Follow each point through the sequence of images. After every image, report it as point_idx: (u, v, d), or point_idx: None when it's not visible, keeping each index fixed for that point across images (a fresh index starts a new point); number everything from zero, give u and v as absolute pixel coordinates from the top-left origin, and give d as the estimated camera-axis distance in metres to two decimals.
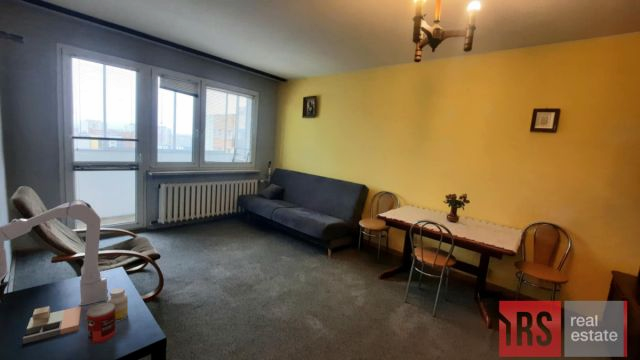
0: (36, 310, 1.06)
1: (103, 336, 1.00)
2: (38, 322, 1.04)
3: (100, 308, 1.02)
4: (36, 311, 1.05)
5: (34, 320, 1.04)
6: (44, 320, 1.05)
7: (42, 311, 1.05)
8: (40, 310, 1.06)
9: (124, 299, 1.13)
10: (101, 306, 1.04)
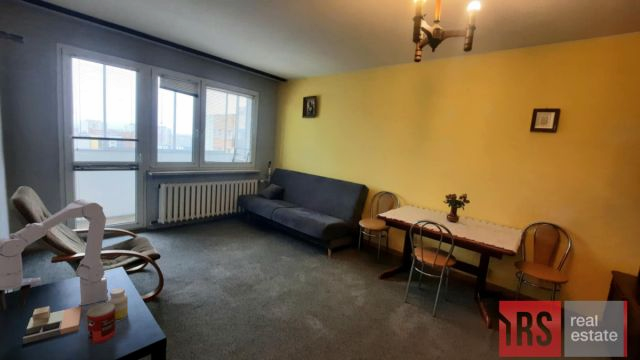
0: (36, 310, 1.06)
1: (103, 336, 1.00)
2: (38, 322, 1.04)
3: (100, 308, 1.02)
4: (36, 311, 1.05)
5: (34, 320, 1.04)
6: (44, 320, 1.05)
7: (42, 311, 1.05)
8: (40, 310, 1.06)
9: (124, 299, 1.13)
10: (101, 306, 1.04)
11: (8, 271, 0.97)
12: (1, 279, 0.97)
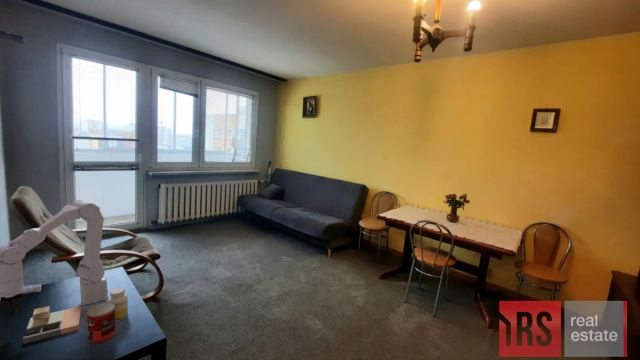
0: (36, 310, 1.06)
1: (103, 336, 1.00)
2: (38, 322, 1.04)
3: (100, 308, 1.02)
4: (36, 311, 1.05)
5: (34, 320, 1.04)
6: (44, 320, 1.05)
7: (42, 311, 1.05)
8: (40, 310, 1.06)
9: (124, 299, 1.13)
10: (101, 306, 1.04)
11: (9, 278, 0.97)
12: (2, 286, 0.97)
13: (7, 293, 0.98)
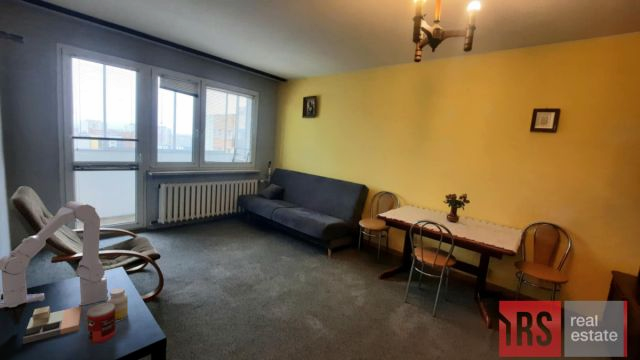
0: (36, 310, 1.06)
1: (103, 336, 1.00)
2: (38, 322, 1.04)
3: (100, 308, 1.02)
4: (36, 311, 1.05)
5: (34, 320, 1.04)
6: (44, 320, 1.05)
7: (42, 311, 1.05)
8: (40, 310, 1.06)
9: (124, 299, 1.13)
10: (101, 306, 1.04)
11: (12, 288, 0.98)
12: (5, 296, 0.98)
13: (11, 303, 0.99)
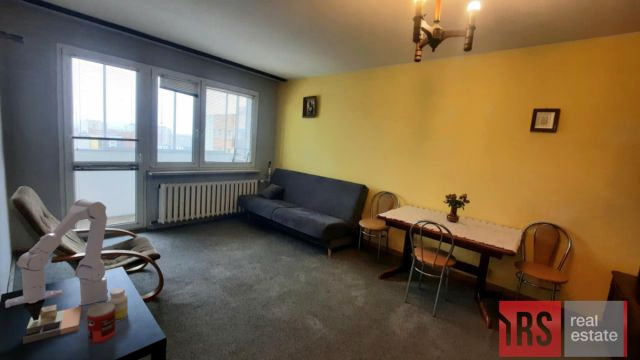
0: (43, 308, 1.07)
1: (103, 336, 1.00)
2: (45, 320, 1.06)
3: (100, 308, 1.02)
4: (43, 310, 1.06)
5: (41, 318, 1.05)
6: (51, 318, 1.06)
7: (49, 309, 1.06)
8: (47, 308, 1.07)
9: (124, 299, 1.13)
10: (101, 306, 1.04)
11: (34, 284, 1.01)
12: (25, 292, 1.01)
13: (31, 299, 1.02)
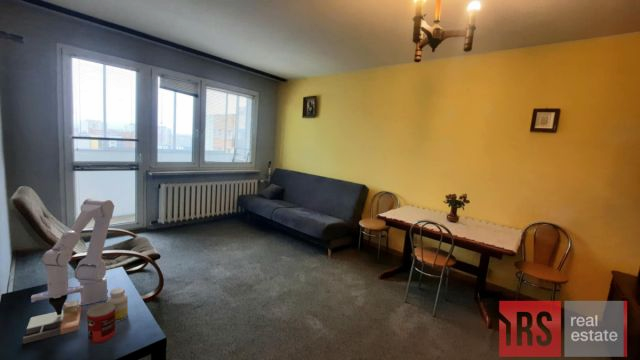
0: (66, 303, 1.10)
1: (103, 336, 1.00)
2: (68, 315, 1.09)
3: (100, 308, 1.02)
4: (65, 305, 1.10)
5: (64, 313, 1.08)
6: (73, 313, 1.10)
7: (72, 305, 1.10)
8: (69, 303, 1.11)
9: (124, 299, 1.13)
10: (101, 306, 1.04)
11: (61, 279, 1.06)
12: (50, 287, 1.05)
13: (55, 294, 1.05)
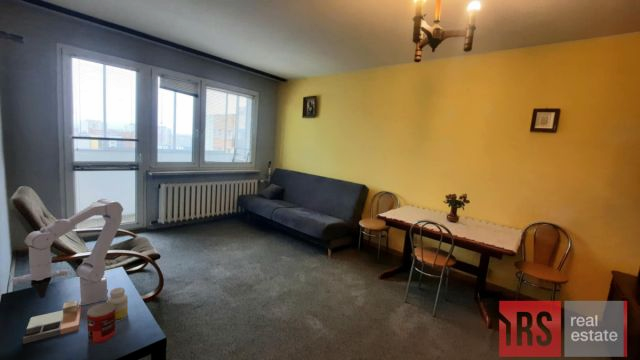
0: (65, 304, 1.10)
1: (103, 336, 1.00)
2: (67, 315, 1.09)
3: (100, 308, 1.02)
4: (65, 305, 1.10)
5: (64, 313, 1.08)
6: (73, 313, 1.10)
7: (71, 305, 1.10)
8: (69, 304, 1.11)
9: (124, 299, 1.13)
10: (101, 306, 1.04)
11: (39, 262, 1.04)
12: (32, 269, 1.04)
13: (37, 276, 1.05)
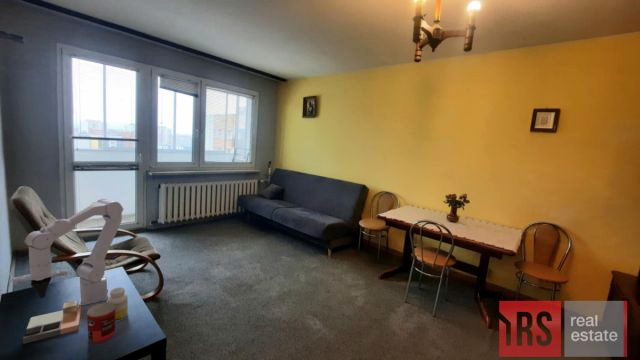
0: (65, 304, 1.10)
1: (103, 336, 1.00)
2: (67, 315, 1.09)
3: (100, 308, 1.02)
4: (65, 305, 1.10)
5: (64, 313, 1.08)
6: (73, 313, 1.10)
7: (71, 305, 1.10)
8: (69, 304, 1.11)
9: (124, 299, 1.13)
10: (101, 306, 1.04)
11: (39, 262, 1.04)
12: (32, 269, 1.04)
13: (37, 276, 1.05)
